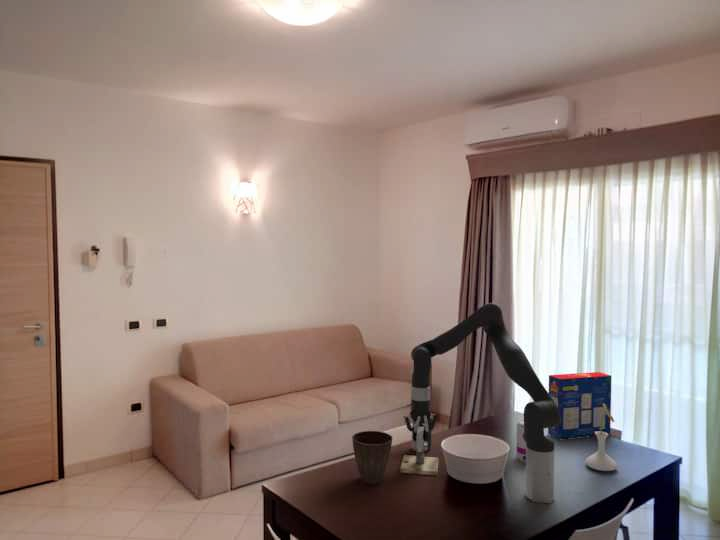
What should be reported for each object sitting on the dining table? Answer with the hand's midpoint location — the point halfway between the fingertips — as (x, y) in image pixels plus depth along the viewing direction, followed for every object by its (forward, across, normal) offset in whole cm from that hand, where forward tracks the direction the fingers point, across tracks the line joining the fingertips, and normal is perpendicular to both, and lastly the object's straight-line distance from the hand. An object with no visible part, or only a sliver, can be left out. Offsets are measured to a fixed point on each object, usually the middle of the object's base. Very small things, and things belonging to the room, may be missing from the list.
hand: (420, 440), depth 207 cm
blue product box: (+11, -86, -18) cm, 89 cm away
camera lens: (+11, -7, -17) cm, 22 cm away
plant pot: (+10, +22, +8) cm, 25 cm away
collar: (+3, 0, 0) cm, 3 cm away
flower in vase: (+11, -70, +17) cm, 73 cm away
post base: (+10, 0, 0) cm, 10 cm away
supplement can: (+11, -46, +3) cm, 47 cm away
